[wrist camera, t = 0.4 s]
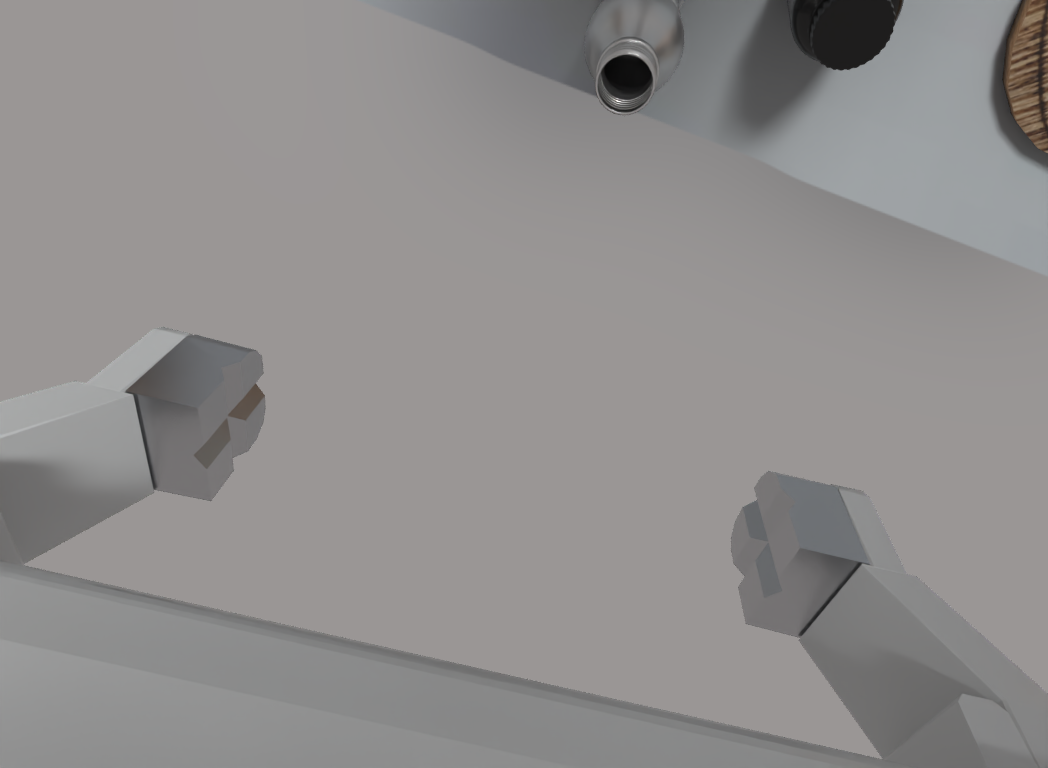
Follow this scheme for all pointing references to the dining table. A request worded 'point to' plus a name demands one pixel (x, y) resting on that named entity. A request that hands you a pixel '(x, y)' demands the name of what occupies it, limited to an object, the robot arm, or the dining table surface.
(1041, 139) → the trivet
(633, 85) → the silver water bottle
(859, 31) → the supplement bottle
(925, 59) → the dining table surface
